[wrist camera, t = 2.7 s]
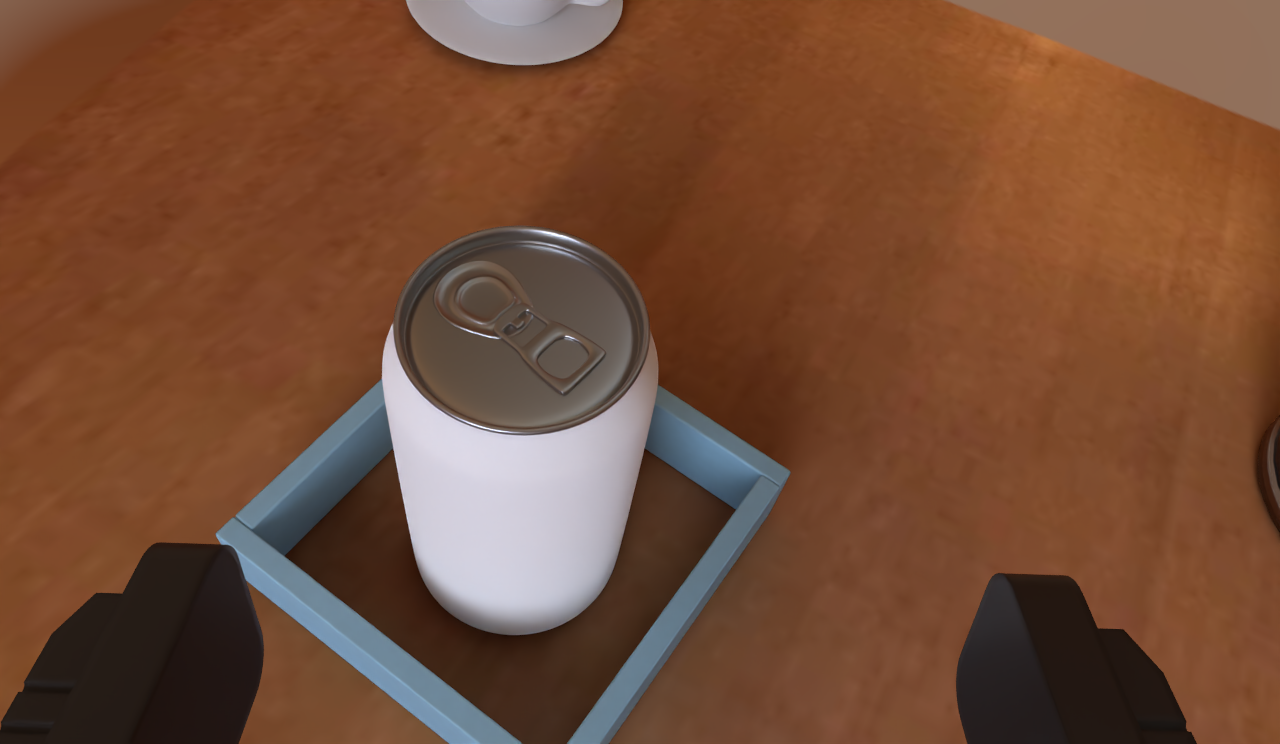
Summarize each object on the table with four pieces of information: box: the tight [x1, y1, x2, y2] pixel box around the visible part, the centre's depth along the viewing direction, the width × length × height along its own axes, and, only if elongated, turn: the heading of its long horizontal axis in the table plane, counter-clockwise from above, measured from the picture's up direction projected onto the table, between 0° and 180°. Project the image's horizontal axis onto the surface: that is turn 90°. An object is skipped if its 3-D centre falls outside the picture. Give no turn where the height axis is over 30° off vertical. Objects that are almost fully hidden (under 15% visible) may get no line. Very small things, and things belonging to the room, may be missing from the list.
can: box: [382, 226, 658, 635], centre depth 27 cm, size 6×6×12 cm
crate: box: [216, 379, 790, 744], centre depth 31 cm, size 12×12×3 cm
